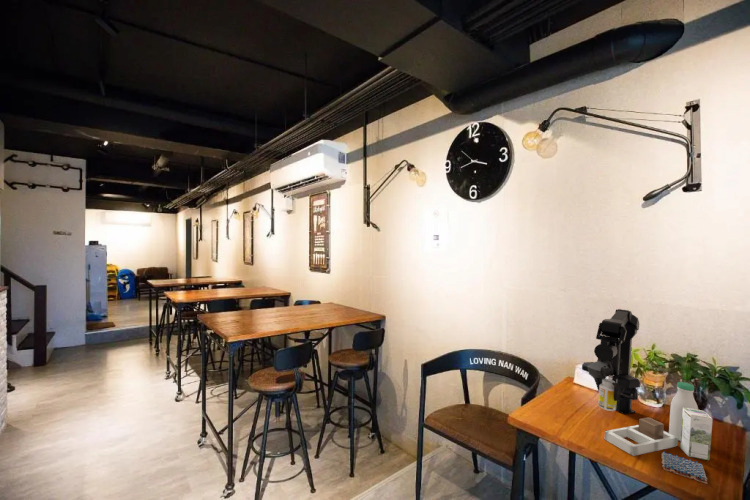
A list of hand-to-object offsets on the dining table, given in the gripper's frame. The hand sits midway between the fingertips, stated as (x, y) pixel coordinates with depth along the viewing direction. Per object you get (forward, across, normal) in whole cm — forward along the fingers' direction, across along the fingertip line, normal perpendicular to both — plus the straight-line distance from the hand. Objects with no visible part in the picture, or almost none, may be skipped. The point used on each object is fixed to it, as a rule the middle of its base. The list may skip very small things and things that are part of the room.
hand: (607, 397), depth 129 cm
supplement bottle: (+4, 0, 0) cm, 4 cm away
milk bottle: (+13, +10, +25) cm, 30 cm away
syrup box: (+13, +18, +17) cm, 28 cm away
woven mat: (+14, +22, +4) cm, 27 cm away
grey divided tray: (+13, +8, +6) cm, 17 cm away
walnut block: (+13, +8, +11) cm, 19 cm away
